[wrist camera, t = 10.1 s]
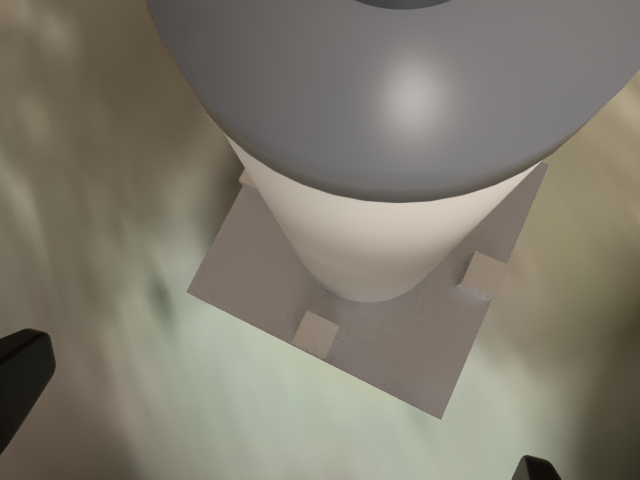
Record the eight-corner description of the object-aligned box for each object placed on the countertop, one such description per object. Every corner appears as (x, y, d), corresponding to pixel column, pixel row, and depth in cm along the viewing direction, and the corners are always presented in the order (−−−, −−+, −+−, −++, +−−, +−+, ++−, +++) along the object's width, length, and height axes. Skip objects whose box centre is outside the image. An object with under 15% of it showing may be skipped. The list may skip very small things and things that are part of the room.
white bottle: (352, 335, 18) (344, 252, 2) (264, 214, 19) (-127, -368, 4) (474, 243, 18) (1135, -329, 3) (381, 130, 20) (490, -726, 4)
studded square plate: (424, 407, 21) (446, 423, 16) (214, 302, 23) (177, 288, 18) (539, 139, 23) (589, 83, 18) (341, 59, 25) (338, -13, 20)
